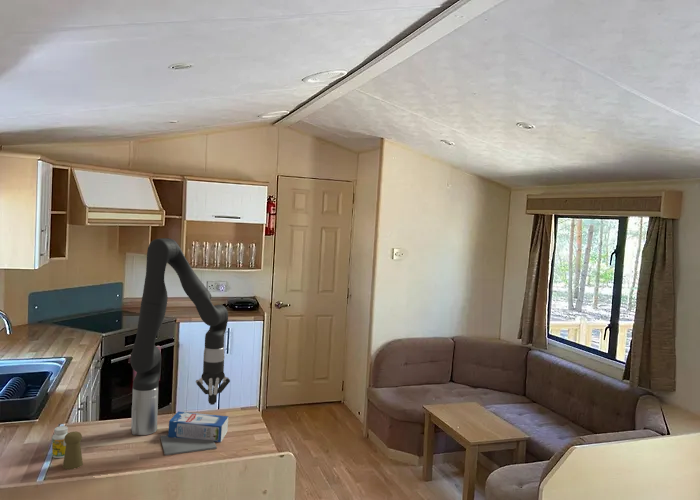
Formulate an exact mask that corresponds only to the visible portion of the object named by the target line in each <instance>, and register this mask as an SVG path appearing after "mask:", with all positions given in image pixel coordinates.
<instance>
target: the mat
mask: <svg viewBox="0 0 700 500" xmlns="http://www.w3.org/2000/svg"><path fill="white" fill-rule="evenodd" d="M159 439H160V441H161V445H162V449H163V450H162V451H163V453H164V456H171V455H178V454H188V453H193V452H200V451H208V450H216V449H218V447H217V445H216V442H214V440H203V439H188V438H173V437H168V434H164V435H160V436H159Z"/></svg>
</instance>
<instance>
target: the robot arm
mask: <svg viewBox="0 0 700 500" xmlns="http://www.w3.org/2000/svg"><path fill="white" fill-rule="evenodd" d="M167 264H168V265H169V266H170V267H171V268H172V269H173V270H174V271H175V273H176V275H177V277H178V279H179V281H180V285H181V287H182V289H183V291H184V293H185V294H186V296H187V297H188V298H189V299H190V301H191V302H192V303H193V304H194V306H195V308H196V311H197V313H198V315H199V317H200V319H201V321H202V322H203V323H204V324H205V325H207V326H208V327H209V329H208V330H207V331H206V333H205V335H204V350H203V363H202V364H203V367H202V374H201V376H200V378H199V379H196V380H195V383H196V385H197V387H199V389H200V390H201V391H202V392H203V393H204V395H208V398H207V402H208V403H209V404H210V405H215V404H216V403H217V397H218V396H217V395H218V394H221V393H222V392H224V390H225V388H226V387H227V386H228V385H229V383H230V382H231V379H230V378H229V377H226V375H225V374H226V373H225V372H224V371H225V334H226V330H227V327H228V322H229V311H228V309H227V307H226V306H224V305H222V304H215V305H214V304H213V302H212V294H211V292H210V291H209V290H208V288H207V287H206V286H205V284H204V283H203V282H202V280H201V279H200V278H199V277H198V275H197V274H196V272H195V271H194V269H193V268H192V266H191V265H190V263H189V261H188V260H187V258H186V256H185V254H184V252H183V250H182V248H181V247H180V245H179V244H178V242H177V241H176V240H175V239H173V238H169V237H167V238H166V237H165V238H155V239H153V240H151V242H150V243H149V245H148V246H147V253H146V265H145V266H146V267H145V279H144V285H143V291H142V292H143V293H142V296H141V300H140V301H141V303H140V309H139V314H138V315H139V316H138V321H137V322H138V323H137V329H136V337H135V339H134V344H133V347H132V351H131V354H130V366H131V368H132V369H133V370H134V371H135V372H136V374H135V377H134V379H133V381H132V401H131V403H132V405H131V422H130V423H131V424H130V425H131V435H137V436H146V435H147V436H148V435H151V434H154V433H156V431H158V415H159V413H158V410H159V407H158V406H159V405H158V404H159V382H160V379H161V372H162V353H161V350H160V348H159V347H158V346H157V345H155V344H156V341H157V340H156V339H157V335H158V333H159V331H160V328H161V326H162V324H163V322H164V320H165V319H164V318H165V315H166V311H167V307H168V291H167V286H166V283H165V273H166V268H167ZM203 384H206V386H207V388H206V387H205V386H204V385H203Z"/></svg>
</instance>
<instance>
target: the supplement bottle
mask: <svg viewBox="0 0 700 500" xmlns="http://www.w3.org/2000/svg"><path fill="white" fill-rule="evenodd" d="M68 431H69V428H68V426H67V425H60V426H57V427H55V428H54V431H53V432H54V434H53V435H52V437H51V440H52V441H51V444H52V446H51V451H52V452H51V456H52V457H53V458H55V459H64V455H65V449H66V443H65V436H66V434H68V433H69V432H68Z"/></svg>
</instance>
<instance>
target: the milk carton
mask: <svg viewBox="0 0 700 500" xmlns="http://www.w3.org/2000/svg"><path fill="white" fill-rule="evenodd" d="M228 425H229V416H228V415H217V414H207V413H197V412H189V411H188V412H186V411H180V410H179V411H177V412H176V413H175V414H174V415H173V416H172V418H170V419H169V420H168V431H167V432H168V434H167V435H168V437H173V438H188V439H203V440H214V442H215V443H222V441H223V440H224V438H225V436H226V434H227V433H228Z"/></svg>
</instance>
